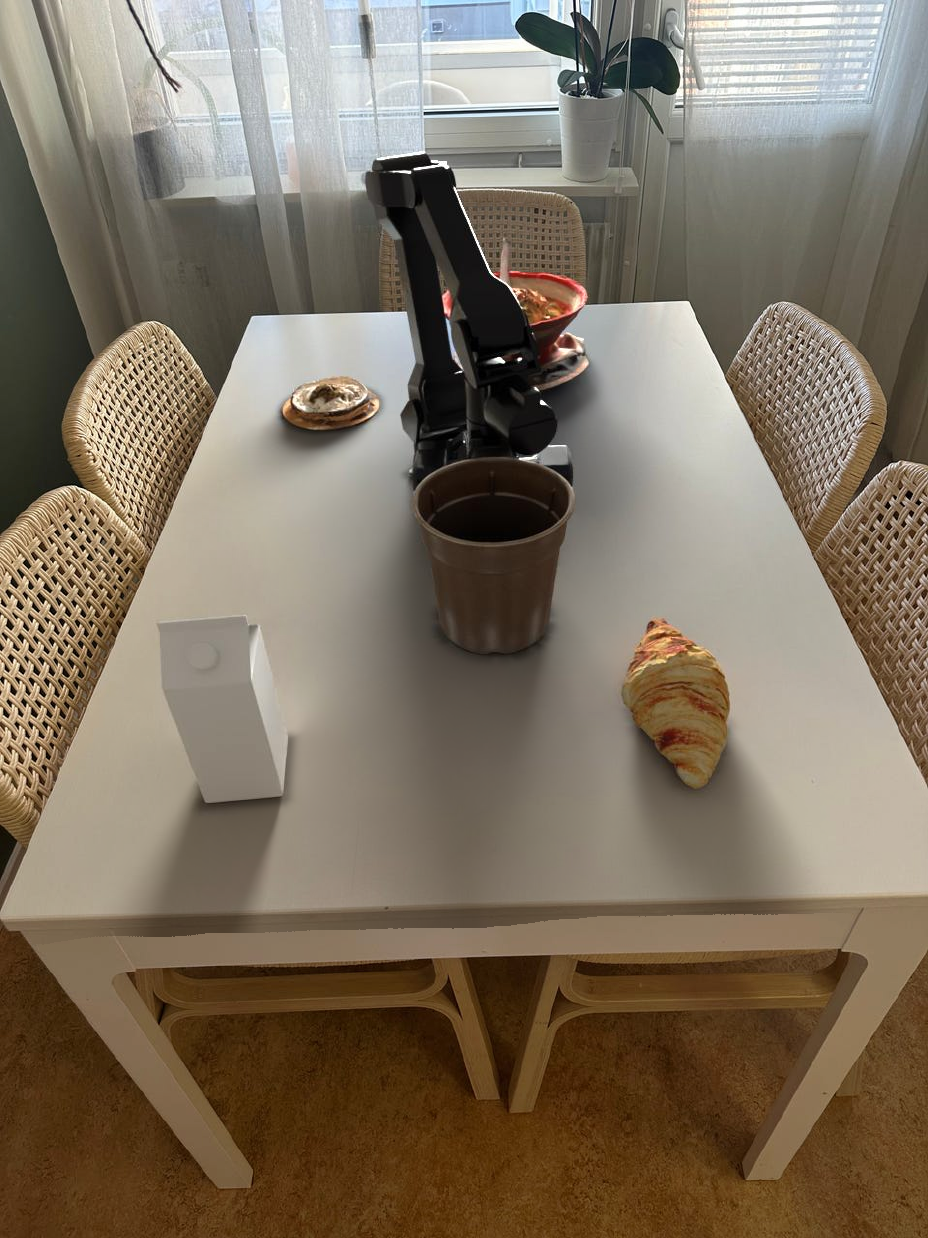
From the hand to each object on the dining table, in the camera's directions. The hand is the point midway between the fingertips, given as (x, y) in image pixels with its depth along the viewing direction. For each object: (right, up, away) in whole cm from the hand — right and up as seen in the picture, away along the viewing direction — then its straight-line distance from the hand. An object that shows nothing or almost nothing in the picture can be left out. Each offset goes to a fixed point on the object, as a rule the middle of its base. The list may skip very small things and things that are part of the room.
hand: (493, 527), depth 109 cm
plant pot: (0, -11, -11) cm, 16 cm away
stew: (+5, +31, +37) cm, 48 cm away
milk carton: (-24, -26, -26) cm, 44 cm away
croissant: (+17, -21, -23) cm, 35 cm away
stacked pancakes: (-24, +22, +28) cm, 43 cm away
